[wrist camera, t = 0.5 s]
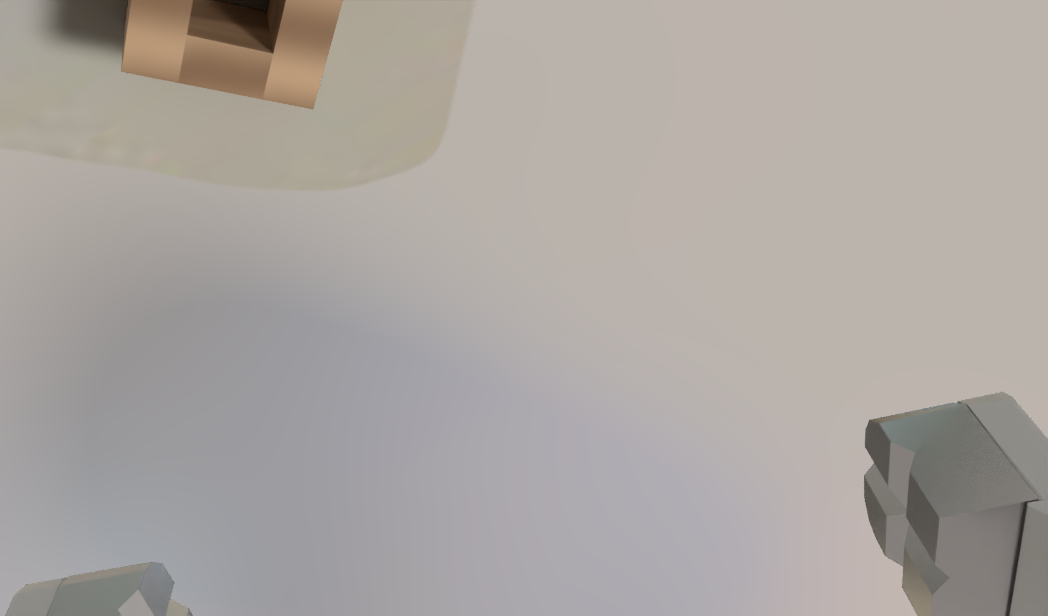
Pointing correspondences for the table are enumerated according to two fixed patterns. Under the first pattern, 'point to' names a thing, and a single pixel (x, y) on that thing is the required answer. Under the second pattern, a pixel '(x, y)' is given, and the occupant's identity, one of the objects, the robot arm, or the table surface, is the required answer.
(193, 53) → the hole block
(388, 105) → the table surface
